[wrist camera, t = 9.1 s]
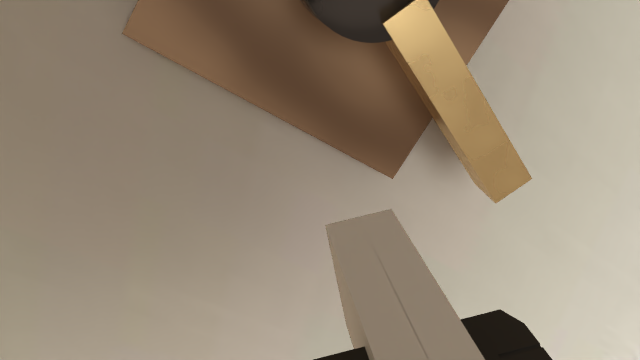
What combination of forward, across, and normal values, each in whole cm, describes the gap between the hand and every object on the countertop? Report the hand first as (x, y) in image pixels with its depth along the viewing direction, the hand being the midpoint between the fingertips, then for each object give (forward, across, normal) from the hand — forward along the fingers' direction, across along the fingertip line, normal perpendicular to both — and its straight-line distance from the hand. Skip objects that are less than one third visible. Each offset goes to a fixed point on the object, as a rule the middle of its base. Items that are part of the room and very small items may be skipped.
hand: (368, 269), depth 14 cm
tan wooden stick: (+17, +6, +1) cm, 18 cm away
